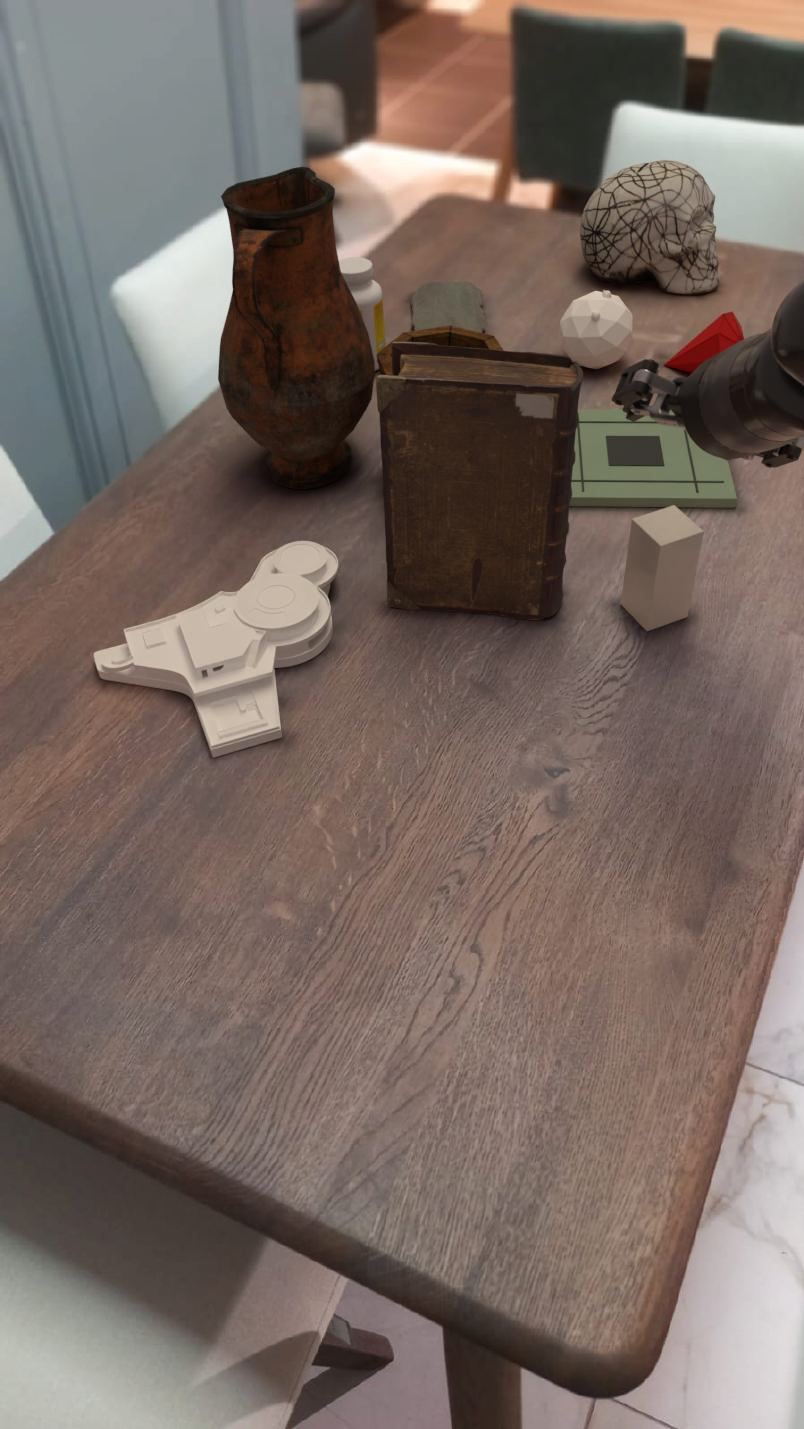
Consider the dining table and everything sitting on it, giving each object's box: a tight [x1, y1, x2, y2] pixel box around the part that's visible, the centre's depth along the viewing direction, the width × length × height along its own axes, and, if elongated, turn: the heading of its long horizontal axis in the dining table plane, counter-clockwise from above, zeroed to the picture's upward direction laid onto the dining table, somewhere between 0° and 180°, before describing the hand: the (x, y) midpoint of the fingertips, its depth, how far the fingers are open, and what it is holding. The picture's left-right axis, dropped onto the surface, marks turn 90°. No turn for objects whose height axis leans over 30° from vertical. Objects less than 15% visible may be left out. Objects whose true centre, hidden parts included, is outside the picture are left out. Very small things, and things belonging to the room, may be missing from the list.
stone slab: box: [410, 281, 487, 333], centre depth 146 cm, size 22×3×10 cm
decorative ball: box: [559, 289, 634, 370], centre depth 136 cm, size 9×10×12 cm
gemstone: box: [663, 311, 745, 374], centre depth 135 cm, size 9×9×10 cm
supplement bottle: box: [338, 256, 387, 372], centre depth 136 cm, size 7×7×13 cm
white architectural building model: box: [93, 540, 340, 759], centre depth 101 cm, size 23×25×4 cm
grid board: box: [569, 408, 738, 509], centre depth 123 cm, size 20×18×1 cm
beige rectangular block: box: [620, 505, 705, 632], centre depth 101 cm, size 5×5×10 cm
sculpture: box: [579, 159, 720, 295], centre depth 150 cm, size 15×20×15 cm
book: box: [375, 342, 584, 621], centre depth 98 cm, size 17×7×25 cm, turn 73°
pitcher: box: [217, 166, 376, 490], centre depth 113 cm, size 17×21×30 cm
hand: (679, 427), depth 91 cm, fingers open, 8 cm apart
